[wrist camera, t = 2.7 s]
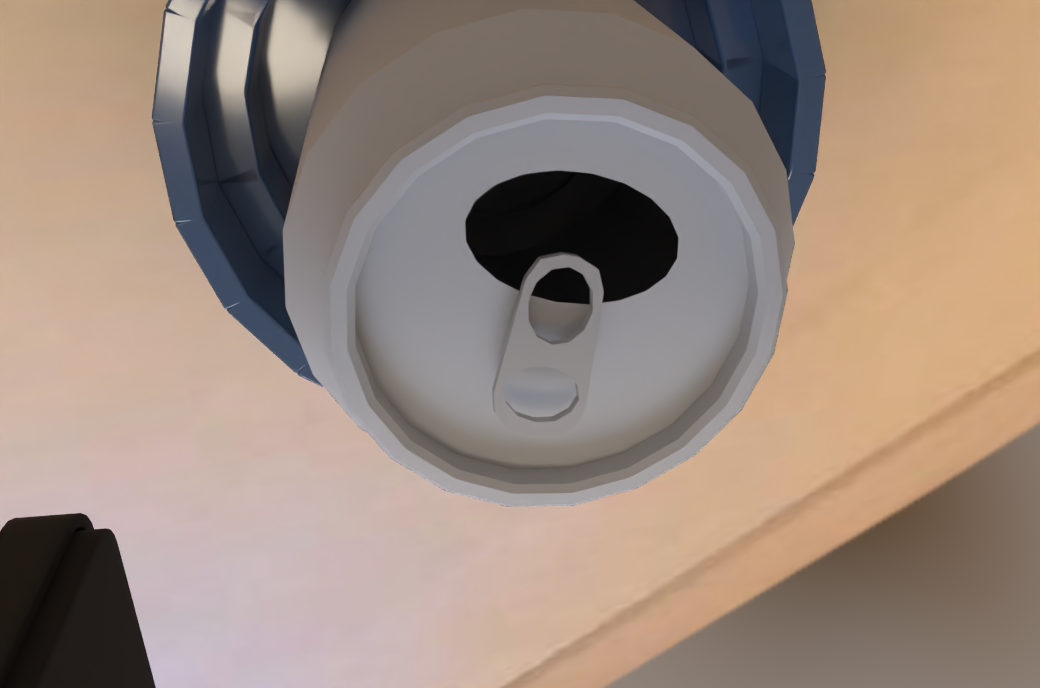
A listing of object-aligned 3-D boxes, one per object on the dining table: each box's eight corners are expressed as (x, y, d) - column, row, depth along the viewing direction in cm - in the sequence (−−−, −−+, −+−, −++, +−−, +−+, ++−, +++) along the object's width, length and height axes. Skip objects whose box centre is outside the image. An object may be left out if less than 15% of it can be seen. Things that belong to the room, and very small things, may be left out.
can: (678, -34, 23) (932, 106, 12) (593, 265, 26) (734, 577, 15) (348, -114, 21) (311, -34, 11) (301, 214, 24) (238, 524, 14)
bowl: (68, 55, 22) (0, 108, 18) (530, -385, 19) (567, -433, 16) (449, 422, 28) (459, 522, 24) (847, 124, 25) (933, 183, 21)
